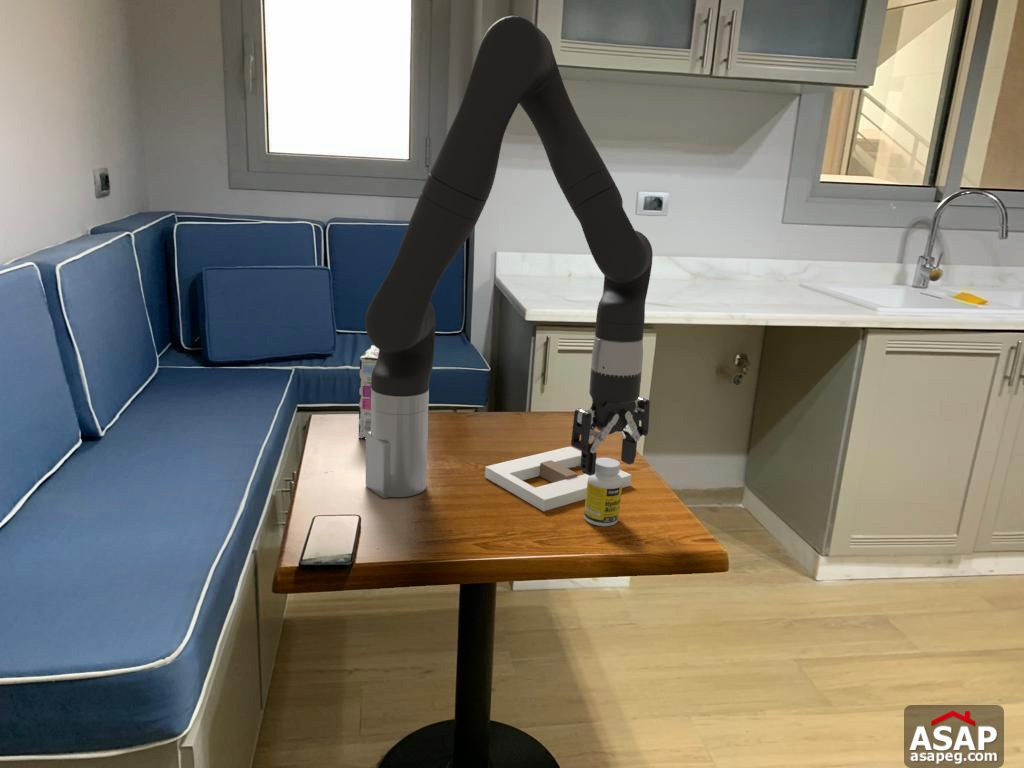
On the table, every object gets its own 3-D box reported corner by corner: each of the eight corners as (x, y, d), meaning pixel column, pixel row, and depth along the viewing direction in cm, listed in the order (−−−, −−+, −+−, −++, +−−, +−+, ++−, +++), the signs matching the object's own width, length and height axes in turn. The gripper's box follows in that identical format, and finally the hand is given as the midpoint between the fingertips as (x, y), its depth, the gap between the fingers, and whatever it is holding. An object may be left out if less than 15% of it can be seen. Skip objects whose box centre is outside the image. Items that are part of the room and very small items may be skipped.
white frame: (543, 511, 124) (544, 497, 123) (484, 477, 136) (485, 463, 135) (630, 485, 136) (631, 472, 135) (569, 456, 148) (570, 443, 147)
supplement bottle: (605, 530, 119) (610, 471, 116) (577, 518, 122) (582, 461, 120) (625, 520, 123) (631, 462, 120) (597, 509, 126) (602, 452, 123)
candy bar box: (383, 441, 150) (384, 359, 145) (357, 439, 150) (358, 357, 146) (393, 422, 161) (395, 345, 156) (369, 421, 161) (370, 344, 156)
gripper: (599, 379, 109) (591, 486, 113) (667, 366, 117) (657, 466, 122) (564, 367, 114) (557, 469, 119) (631, 355, 123) (622, 451, 127)
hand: (608, 468), depth 120 cm, fingers open, 8 cm apart
